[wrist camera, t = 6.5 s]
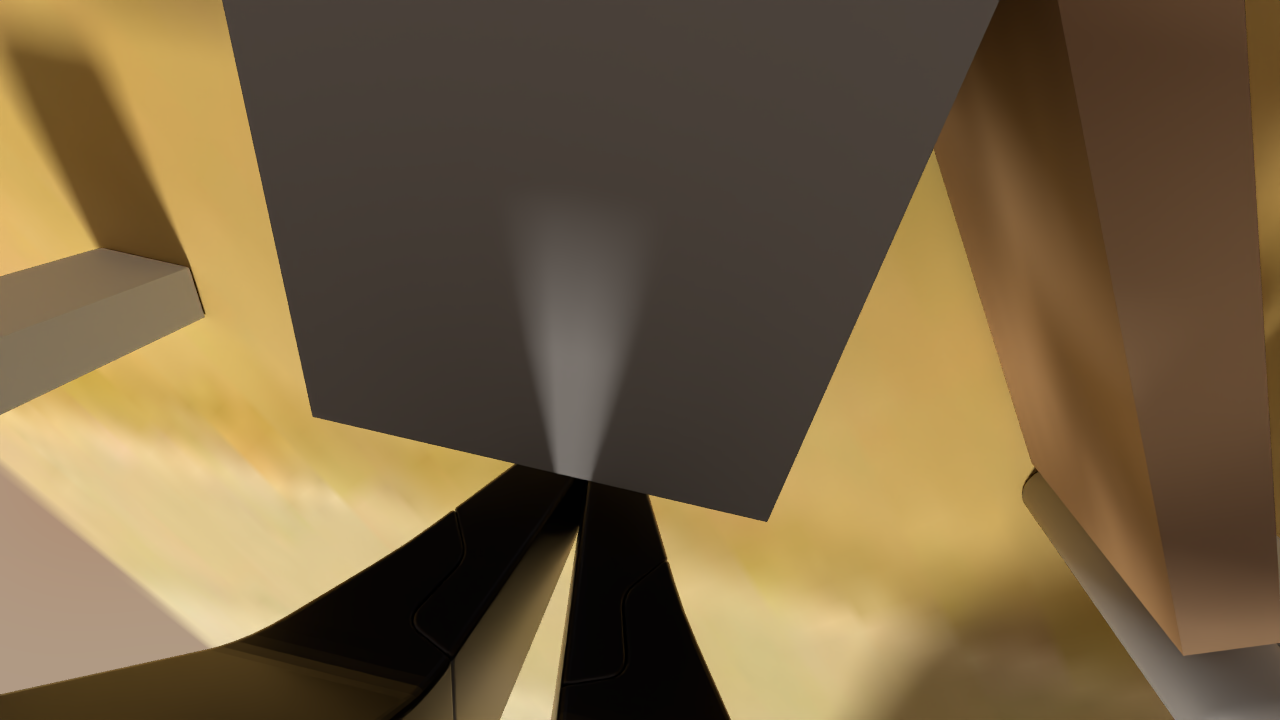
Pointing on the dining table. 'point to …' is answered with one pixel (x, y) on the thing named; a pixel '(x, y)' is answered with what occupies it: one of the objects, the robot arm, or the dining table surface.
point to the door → (1130, 289)
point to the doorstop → (592, 216)
